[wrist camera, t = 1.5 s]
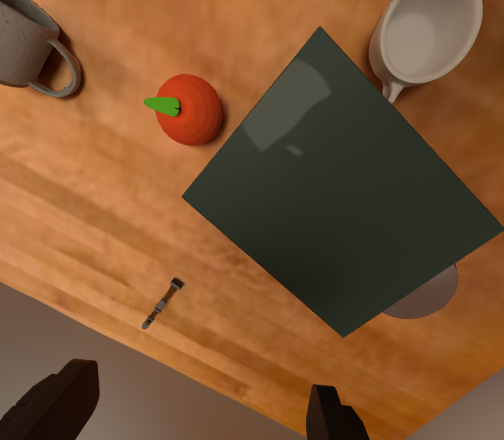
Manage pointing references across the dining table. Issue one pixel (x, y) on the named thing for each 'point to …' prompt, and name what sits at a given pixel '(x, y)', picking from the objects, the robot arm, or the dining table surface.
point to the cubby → (338, 192)
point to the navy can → (427, 296)
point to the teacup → (422, 41)
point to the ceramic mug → (30, 47)
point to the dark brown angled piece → (162, 303)
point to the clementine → (187, 109)
